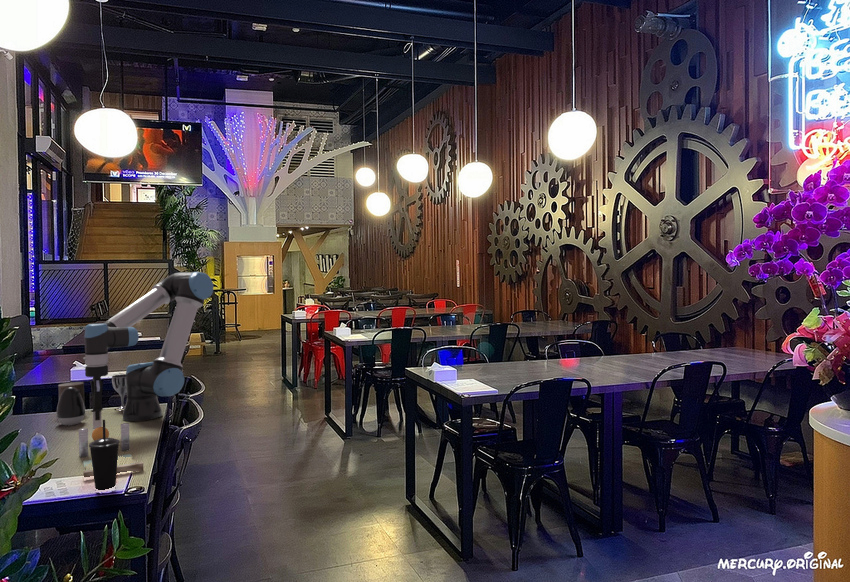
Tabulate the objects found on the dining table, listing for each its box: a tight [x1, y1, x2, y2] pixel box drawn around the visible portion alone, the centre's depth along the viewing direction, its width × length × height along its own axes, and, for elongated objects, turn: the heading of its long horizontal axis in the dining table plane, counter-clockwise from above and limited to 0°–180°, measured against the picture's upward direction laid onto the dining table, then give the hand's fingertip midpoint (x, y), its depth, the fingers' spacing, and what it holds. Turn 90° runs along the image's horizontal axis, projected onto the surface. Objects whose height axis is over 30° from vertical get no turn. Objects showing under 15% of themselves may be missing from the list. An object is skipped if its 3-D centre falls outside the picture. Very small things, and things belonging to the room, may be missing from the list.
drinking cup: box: [88, 419, 121, 490], centre depth 171 cm, size 8×8×20 cm
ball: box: [91, 426, 110, 442], centre depth 222 cm, size 6×6×6 cm
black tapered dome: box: [56, 387, 86, 426], centre depth 250 cm, size 10×10×15 cm
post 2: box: [120, 422, 131, 452], centre depth 212 cm, size 3×3×9 cm
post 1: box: [78, 427, 89, 458], centre depth 205 cm, size 3×3×9 cm
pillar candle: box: [57, 380, 86, 408], centre depth 266 cm, size 10×10×15 cm
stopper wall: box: [82, 461, 144, 477], centre depth 185 cm, size 16×2×2 cm, turn 122°
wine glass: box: [111, 373, 127, 409], centre depth 278 cm, size 8×8×15 cm
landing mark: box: [82, 453, 132, 467], centre depth 197 cm, size 14×14×1 cm
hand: (97, 428), depth 230 cm, fingers closed
